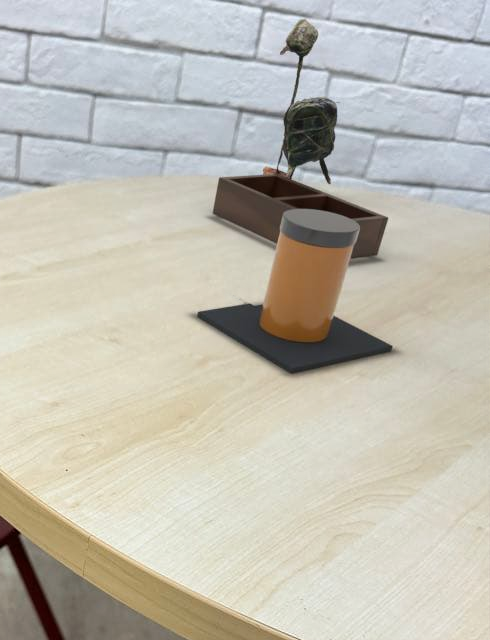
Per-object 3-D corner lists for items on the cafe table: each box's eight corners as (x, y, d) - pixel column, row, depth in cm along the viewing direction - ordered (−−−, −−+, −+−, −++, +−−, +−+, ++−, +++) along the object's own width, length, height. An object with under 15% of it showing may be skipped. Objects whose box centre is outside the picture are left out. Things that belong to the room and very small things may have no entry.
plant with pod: (321, 209, 109) (368, 29, 97) (235, 193, 111) (270, 15, 99) (328, 195, 115) (373, 24, 103) (246, 180, 117) (281, 11, 105)
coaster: (294, 300, 81) (295, 295, 80) (391, 351, 73) (393, 346, 73) (196, 316, 75) (197, 311, 74) (290, 373, 67) (292, 368, 67)
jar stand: (268, 212, 105) (276, 173, 102) (376, 260, 94) (388, 217, 91) (211, 218, 100) (218, 177, 98) (317, 268, 89) (329, 223, 86)
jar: (294, 310, 77) (320, 206, 72) (344, 337, 73) (376, 229, 68) (243, 319, 74) (267, 211, 69) (292, 347, 70) (322, 235, 65)
